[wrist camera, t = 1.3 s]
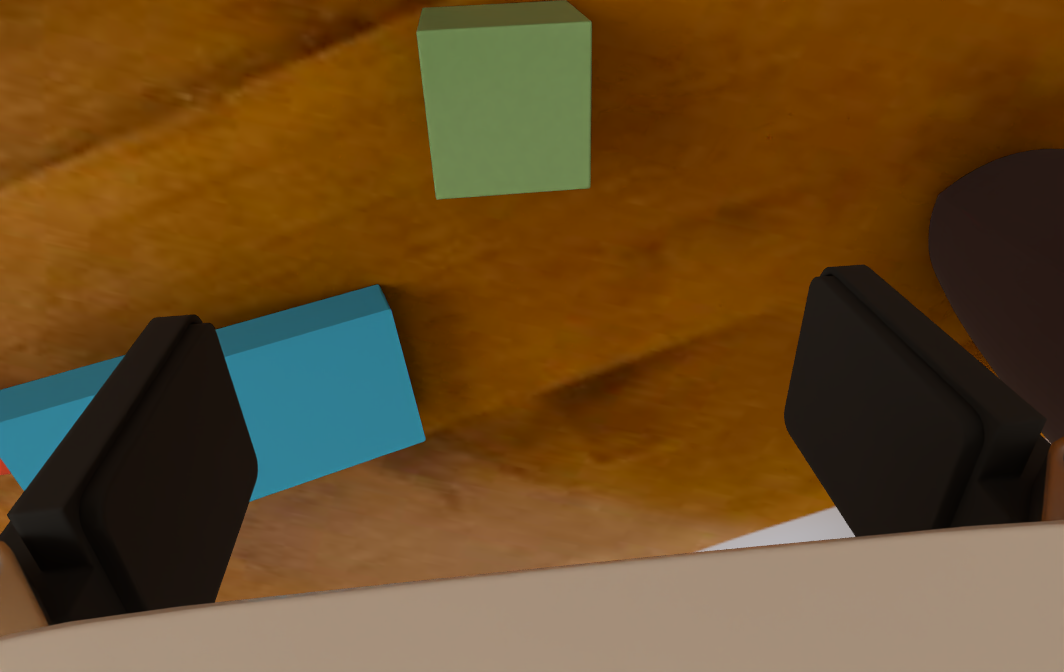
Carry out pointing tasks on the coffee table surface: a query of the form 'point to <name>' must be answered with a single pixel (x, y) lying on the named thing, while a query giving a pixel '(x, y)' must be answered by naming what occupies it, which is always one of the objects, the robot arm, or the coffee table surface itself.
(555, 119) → the green toy block
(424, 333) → the coffee table surface
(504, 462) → the coffee table surface
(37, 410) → the lever
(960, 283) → the cup
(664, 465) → the coffee table surface
